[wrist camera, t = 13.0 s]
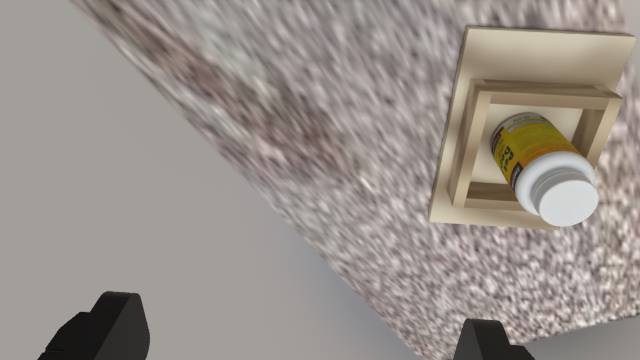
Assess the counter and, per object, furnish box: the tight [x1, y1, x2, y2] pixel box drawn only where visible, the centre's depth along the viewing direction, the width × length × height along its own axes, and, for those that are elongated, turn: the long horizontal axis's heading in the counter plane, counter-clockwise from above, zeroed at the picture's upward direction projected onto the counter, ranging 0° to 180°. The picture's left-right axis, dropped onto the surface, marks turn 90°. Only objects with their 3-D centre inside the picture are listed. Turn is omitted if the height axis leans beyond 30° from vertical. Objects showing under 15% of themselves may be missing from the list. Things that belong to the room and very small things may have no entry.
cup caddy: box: [428, 26, 636, 230], centre depth 38 cm, size 19×13×4 cm
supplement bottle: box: [491, 114, 599, 226], centre depth 35 cm, size 6×6×10 cm
